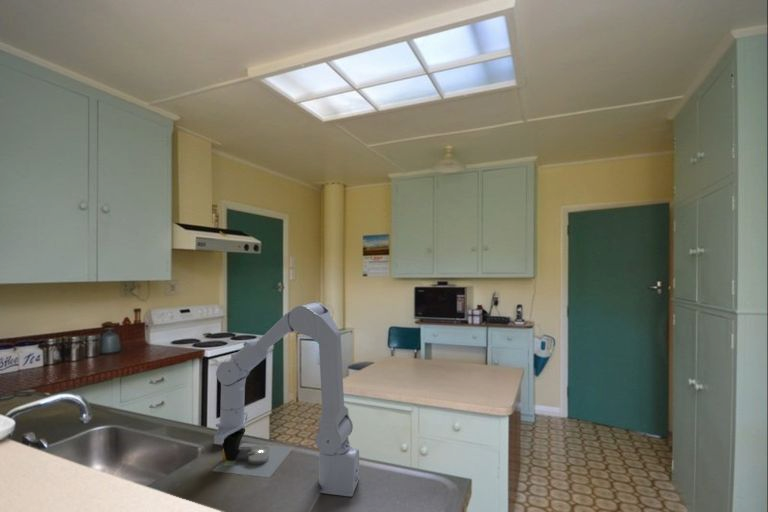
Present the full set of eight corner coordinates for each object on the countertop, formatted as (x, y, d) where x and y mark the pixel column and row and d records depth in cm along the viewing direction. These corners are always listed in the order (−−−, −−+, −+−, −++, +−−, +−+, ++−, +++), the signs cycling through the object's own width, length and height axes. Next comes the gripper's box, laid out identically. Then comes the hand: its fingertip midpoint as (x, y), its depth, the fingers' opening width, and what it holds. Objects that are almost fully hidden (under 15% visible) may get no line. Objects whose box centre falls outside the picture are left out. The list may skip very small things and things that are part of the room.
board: (293, 452, 109) (293, 447, 109) (269, 482, 94) (269, 477, 94) (243, 447, 111) (243, 442, 111) (212, 475, 97) (212, 470, 97)
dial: (265, 465, 99) (266, 453, 99) (219, 465, 99) (219, 453, 99) (271, 454, 105) (271, 442, 105) (227, 454, 105) (227, 442, 105)
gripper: (230, 395, 108) (229, 445, 107) (202, 416, 93) (200, 473, 93) (255, 396, 107) (254, 446, 107) (231, 418, 93) (229, 475, 92)
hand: (231, 459), depth 100 cm, fingers closed
